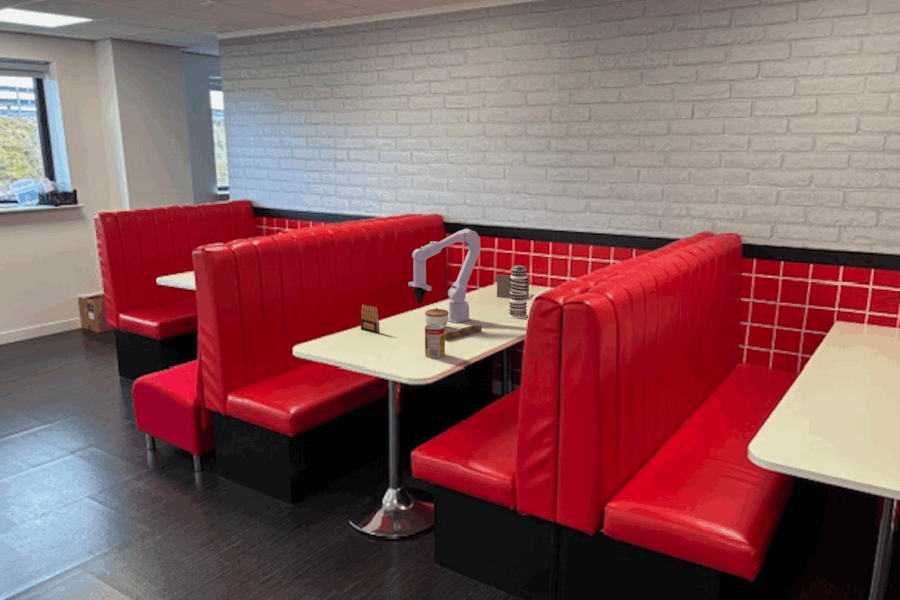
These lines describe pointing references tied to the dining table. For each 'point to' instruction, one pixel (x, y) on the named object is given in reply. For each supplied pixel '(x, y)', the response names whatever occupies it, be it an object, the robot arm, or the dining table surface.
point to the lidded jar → (436, 316)
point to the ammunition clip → (370, 319)
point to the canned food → (434, 341)
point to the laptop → (504, 288)
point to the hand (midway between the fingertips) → (419, 303)
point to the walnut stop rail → (462, 332)
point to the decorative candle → (518, 291)
